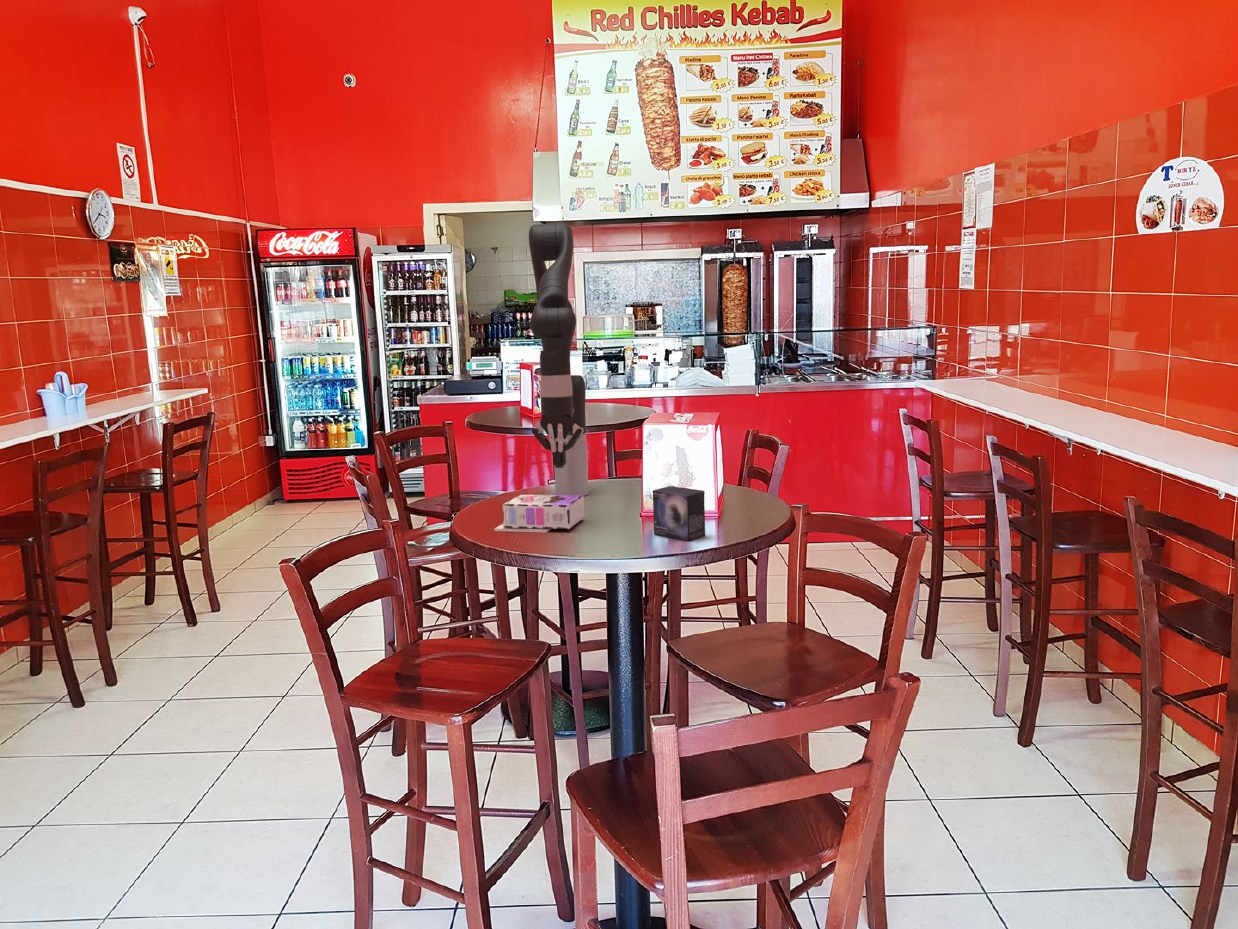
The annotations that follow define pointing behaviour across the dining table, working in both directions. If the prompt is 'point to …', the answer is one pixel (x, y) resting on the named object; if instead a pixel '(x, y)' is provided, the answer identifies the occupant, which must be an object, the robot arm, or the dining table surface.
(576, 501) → the candy box
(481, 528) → the dining table surface
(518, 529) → the mat
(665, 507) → the small box
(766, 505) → the dining table surface
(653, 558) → the dining table surface
